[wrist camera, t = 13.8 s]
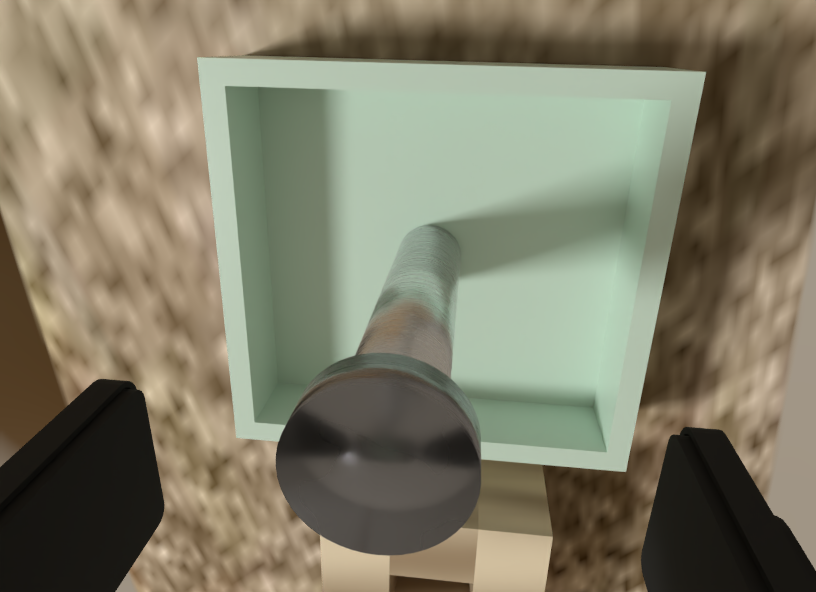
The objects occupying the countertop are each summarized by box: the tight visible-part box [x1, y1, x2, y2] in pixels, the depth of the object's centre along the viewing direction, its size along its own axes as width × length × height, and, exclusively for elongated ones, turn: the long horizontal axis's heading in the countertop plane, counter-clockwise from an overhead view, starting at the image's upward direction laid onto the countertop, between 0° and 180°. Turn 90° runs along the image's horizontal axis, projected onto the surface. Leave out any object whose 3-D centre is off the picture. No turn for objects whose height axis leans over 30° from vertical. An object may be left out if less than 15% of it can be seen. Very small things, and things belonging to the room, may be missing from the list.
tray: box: [197, 55, 706, 472], centre depth 22 cm, size 14×15×4 cm
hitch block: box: [320, 459, 553, 592], centre depth 27 cm, size 9×9×5 cm
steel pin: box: [276, 225, 481, 556], centre depth 17 cm, size 4×4×13 cm
